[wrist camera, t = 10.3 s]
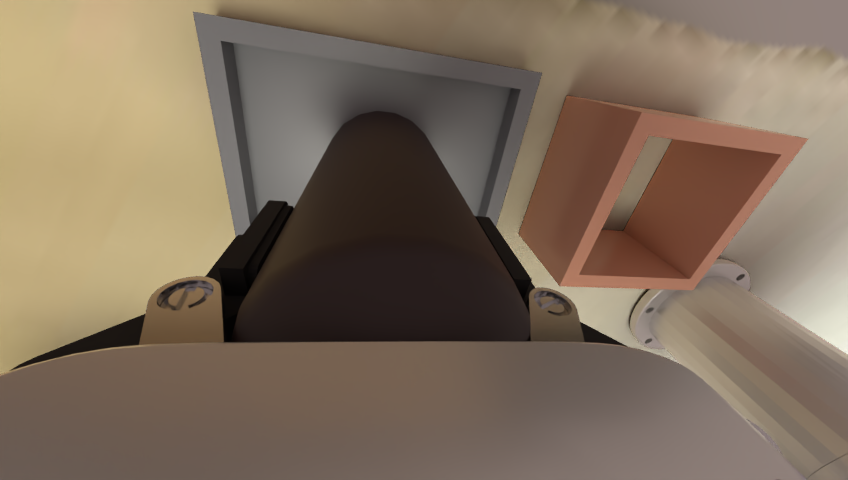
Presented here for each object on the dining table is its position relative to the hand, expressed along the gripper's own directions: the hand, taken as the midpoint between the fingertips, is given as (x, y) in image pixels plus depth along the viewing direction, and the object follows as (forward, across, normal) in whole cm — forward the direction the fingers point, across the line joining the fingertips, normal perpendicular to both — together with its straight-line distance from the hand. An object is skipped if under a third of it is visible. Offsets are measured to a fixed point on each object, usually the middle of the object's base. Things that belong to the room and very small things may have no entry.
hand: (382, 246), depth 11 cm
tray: (+12, 0, 0) cm, 12 cm away
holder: (+12, -18, 0) cm, 21 cm away
